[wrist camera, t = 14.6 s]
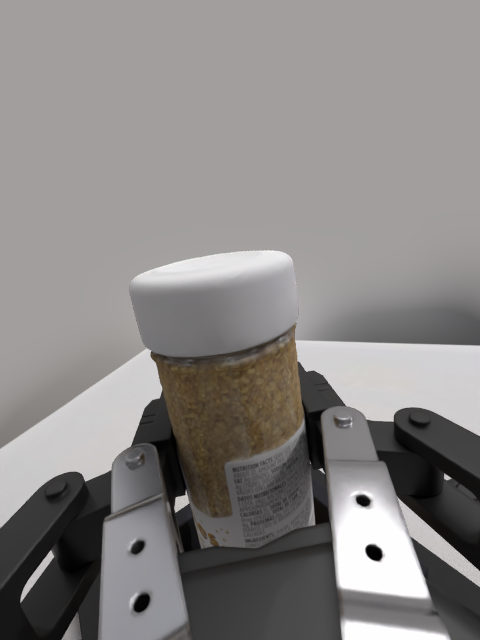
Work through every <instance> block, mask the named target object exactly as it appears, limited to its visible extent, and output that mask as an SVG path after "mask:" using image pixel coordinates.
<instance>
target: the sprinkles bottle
mask: <svg viewBox="0 0 480 640" xmlns="http://www.w3.org/2000/svg"><path fill="white" fill-rule="evenodd" d="M129 292H130V296H131V300H132V305H133V309H134V313H135V317H136V321H137V324H138V328H139V331H140V335H141V338H142V341H143V343H144V345H145V346H146V347H147V348H148V349H150V350H151V358H152V359H153V360H154V361H155V362H156V365H157V369H158V374H159V379H160V383H161V385H162V389H163V394H164V398H165V401H166V406H167V410H168V414H169V418H170V421H171V425H172V428H173V435H174V437H175V441H176V446H177V454H178V459H179V464H180V467H181V471H182V475H183V479H184V483H185V487H186V490H187V494H188V498H189V502H190V506H191V510H192V514H193V518H194V522H195V526H196V529H197V533H198V537H199V541H200V545H201V549H202V548H207V547H212V546H226V547H241V548H259V547H261V546H263V545H265V544H267V543H269V542H271V541H273V540H275V539H277V538H279V537H281V536H283V535H285V534H287V533H288V532H290V531H292V530H294V529H298V528H303V527H308V526H313V525H315V515H314V503H313V492H312V481H311V471H310V460H309V450H308V440H307V430H306V420H305V410H304V407H303V404H302V400H301V389H300V379H299V375H298V361H297V351H296V343H295V328H296V321H297V319H298V315H299V309H298V298H297V289H296V280H295V273H294V265H293V261H292V259H291V257H290V256H289V255H288V254H286V253H284V252H279V251H241V252H232V253H224V254H216V255H209V256H204V257H199V258H193V259H189V260H184V261H180V262H175V263H172V264H168V265H165V266H162V267H158V268H155V269H152V270H149V271H146V272H144V273H142V274H140V275H138V276H136V277H135V278H134V279H133V280H132V281H131V283H130V286H129Z"/></svg>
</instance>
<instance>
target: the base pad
mask: <svg viewBox="0 0 480 640" xmlns="http://www.w3.org/2000/svg"><path fill="white" fill-rule="evenodd" d="M310 471H311V481H312V492H313V503H314V515H315V525H317V524H322V523H327V522H329V511H328V500H327V489H326V477H325V474H324V473H322V472H321V471H320V470H318V469H315V470H314V469H313V467H312V465H311V464H310ZM175 514H176V518H177V522H178V527H179V531H180V536H181V540H182V545H183V549H184V552H188V551H193V550H198V549H201V545H200V541H199V537H198V533H197V529H196V526H195V522H194V518H193V514H192V510H191V506H190V503H189V504H188V505H187V506H185V507H184V508H182V509H181V510H179V511H178V512H176V513H175ZM411 540H412V543H413V546H414V549H415V552H416V555H417V558H418V561H419V564H420V567H421V570H422V573H423V576H424V578H426V579H427V580H429V581H430V582H432V583H433V584H434V585H436V586H437V587H439V588H440V589H442V590H443V591H445V592H446V593H447V594H449V595H450V596H452V597H453V598H455V599H456V600H457V601H459V602H460V603H462V604H463V605H465V606H466V607H467V608H469V609H470V610H472V611H473V612H475V613H476V614H477V615H479V616H480V587H479V586H477V585H476V584H475V583H473V582H472V581H470V580H469V579H468V578H466V577H465V576H464V575H462V574H461V573H459V572H458V571H457V570H455V569H454V568H453V567H451V566H450V565H448V564H447V563H446V562H444V561H443V560H442V559H440V558H439V557H438V556H436V555H435V554H433V553H432V552H431V551H429V550H428V549H427V548H425V547H424V546H422V545H421V544H420V543H418V542H417V541H416V540H414V539H413V538H412V537H411ZM100 584H101V571H100V572H99V574H98V576H97V578H96V579H95V581H94V583H93V585H92V586H91V588H90V590H89V592H88V593H87V595H86V597H85V599H84V600H83V602H82V604H81V606H80V607H79V609H78V613H79V620H80V626H81V633H82V640H98V630H99V607H100Z"/></svg>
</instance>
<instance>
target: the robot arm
mask: <svg viewBox="0 0 480 640" xmlns="http://www.w3.org/2000/svg"><path fill="white" fill-rule="evenodd" d="M298 375H299V379H300V389H301V400H302V404H303V407H304V410H305V420H306V430H307V440H308V450H309V460H310V462H311V465H312V467H313V469H314V470H315V469H320V468H323V470H324V472H325V477H326V489H327V500H328V511H329V522H327V523H322V524H317V525H313V526H308V527H303V528H298V529H294V530H292V531H290V532H288V533H287V534H285V535H283V536H281V537H279V538H277V539H275V540H273V541H271V542H269V543H267V544H265V545H263V546H261V547H259V548H241V547H226V546H212V547H207V548H202V549H198V550H193V551H188V552H184V549H183V545H182V540H181V536H180V531H179V527H178V522H177V518H176V514H175V510H174V506H175V498H176V497H178V496H183V495H185V492H186V487H185V483H184V479H183V475H182V471H181V467H180V464H179V459H178V454H177V446H176V441H175V437H174V435H173V428H172V425H171V421H170V418H169V414H168V410H167V406H166V401H165V398H164V394H163V390H162V393H161V397H160V399H155V400H152V401H151V402H150V403H149V404H148V405H147V406H146V407H145V409H144V412H143V415H142V418H141V420H140V423H139V426H138V429H137V431H136V434H135V437H134V440H133V442H132V445H131V447H129V448H127V449H126V450H124V451H123V452H122V453H120V454H119V455H118V456H117V457H116V459H115V460H114V462H113V464H112V470H111V471H109V472H107V473H105V474H103V475H100V476H98V477H96V478H93V479H91V480H89V481H86V482H85V480H84V477H83V476H82V474H80V473H78V472H68V473H64V474H61V475H58V476H56V477H54V478H53V479H51V480H49V481H48V482H46V483H45V484H44V485H43V486H41V487H40V488H39V489H38V490H37V491H36V492H35V493H34V494H33V495H32V496H31V497H30V498H29V500H28V501H27V502H26V503H25V504H24V505H23V506H22V507H21V508H20V509H19V510H18V511H17V512H16V513H15V514H14V515H13V516H12V517H11V518H10V519H9V520H8V521H7V522H6V523H5V524H4V525H3V527H2V528H1V529H0V640H61V639H62V637H63V636H64V634H65V632H66V630H67V629H68V627H69V625H70V623H71V621H72V620H73V618H74V616H75V614H76V613H77V611H78V609H79V607H80V606H81V604H82V602H83V600H84V599H85V597H86V595H87V593H88V592H89V590H90V588H91V586H92V585H93V583H94V581H95V579H96V578H97V576H98V574H99V572H100V571H101V584H100V607H99V630H98V640H480V616H479V615H477V614H476V613H475V612H473V611H472V610H470V609H469V608H467V607H466V606H465V605H463V604H462V603H460V602H459V601H457V600H456V599H455V598H453V597H452V596H450V595H449V594H447V593H446V592H445V591H443V590H442V589H440V588H439V587H437V586H436V585H434V584H433V583H432V582H430V581H429V580H427V579H426V578H424V576H423V573H422V570H421V567H420V564H419V561H418V558H417V555H416V552H415V549H414V546H413V543H412V540H411V537H410V534H409V531H408V528H407V525H406V522H405V519H404V516H403V513H402V510H401V507H400V504H399V501H398V498H399V499H400V500H401V501H402V502H403V503H404V504H405V505H407V506H408V507H409V508H410V509H411V510H412V511H413V512H414V513H416V514H417V515H418V516H419V517H420V518H421V519H422V520H423V521H425V522H426V523H427V524H428V525H429V526H430V527H431V528H432V529H433V530H435V531H436V532H437V533H438V534H439V535H440V536H441V537H442V538H444V539H445V540H446V541H447V542H448V543H449V544H450V545H451V546H453V547H454V548H455V549H456V550H457V551H458V552H459V553H460V554H462V555H463V556H464V557H465V558H466V559H467V560H468V561H469V562H471V563H472V564H473V565H474V566H475V567H476V568H477V569H478V570H479V571H480V504H479V503H477V502H476V501H475V500H473V499H472V498H470V497H469V496H468V495H466V494H465V493H463V492H462V491H461V490H459V489H458V488H456V487H455V486H453V485H452V484H451V483H449V482H448V481H446V480H445V479H444V473H445V474H446V475H448V476H449V477H451V478H452V479H454V480H455V481H457V482H458V483H459V484H461V485H462V486H464V487H465V488H467V489H468V490H469V491H471V492H472V493H473V494H474V495H475V497H476V498H477V499H478V501H479V502H480V436H478V435H476V434H474V433H472V432H470V431H469V430H467V429H465V428H463V427H461V426H459V425H457V424H455V423H453V422H451V421H450V420H448V419H446V418H444V417H442V416H440V415H438V414H436V413H434V412H432V411H429V410H426V409H422V408H404V409H401V410H399V411H397V412H396V413H395V415H394V422H383V421H370V420H366V418H365V416H364V415H363V414H362V413H361V412H360V411H358V410H356V409H354V408H351V407H346V405H345V404H344V403H343V401H342V400H341V399H340V397H339V396H338V395H337V394H336V392H335V391H334V390H333V389H332V387H331V386H330V384H328V382H327V380H326V379H325V378H324V376H323V375H321V374H319V373H317V372H315V371H309V372H306V371H305V370H304V368H303V367H302V365H301V364H300V362H298ZM396 495H397V496H396ZM397 497H398V498H397ZM50 550H51V551H52V553H53V555H54V558H53V559H52V561H51V562H50V564H49V565H48V566H47V568H46V569H45V570H44V572H43V573H42V575H41V576H40V577H39V579H38V580H37V581H36V583H35V584H34V586H33V587H32V588H31V590H30V591H29V592H28V594H27V595H26V597H25V598H24V599H23V601H22V602H21V603H20V599H21V594H22V591H23V588H24V586H25V584H26V583H27V581H28V580H29V578H30V577H31V575H32V574H33V573H34V571H35V570H36V569H37V567H38V566H39V565H40V563H41V562H42V561H43V560H44V558H45V557H46V556H47V554H48V553H49V552H50Z"/></svg>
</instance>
